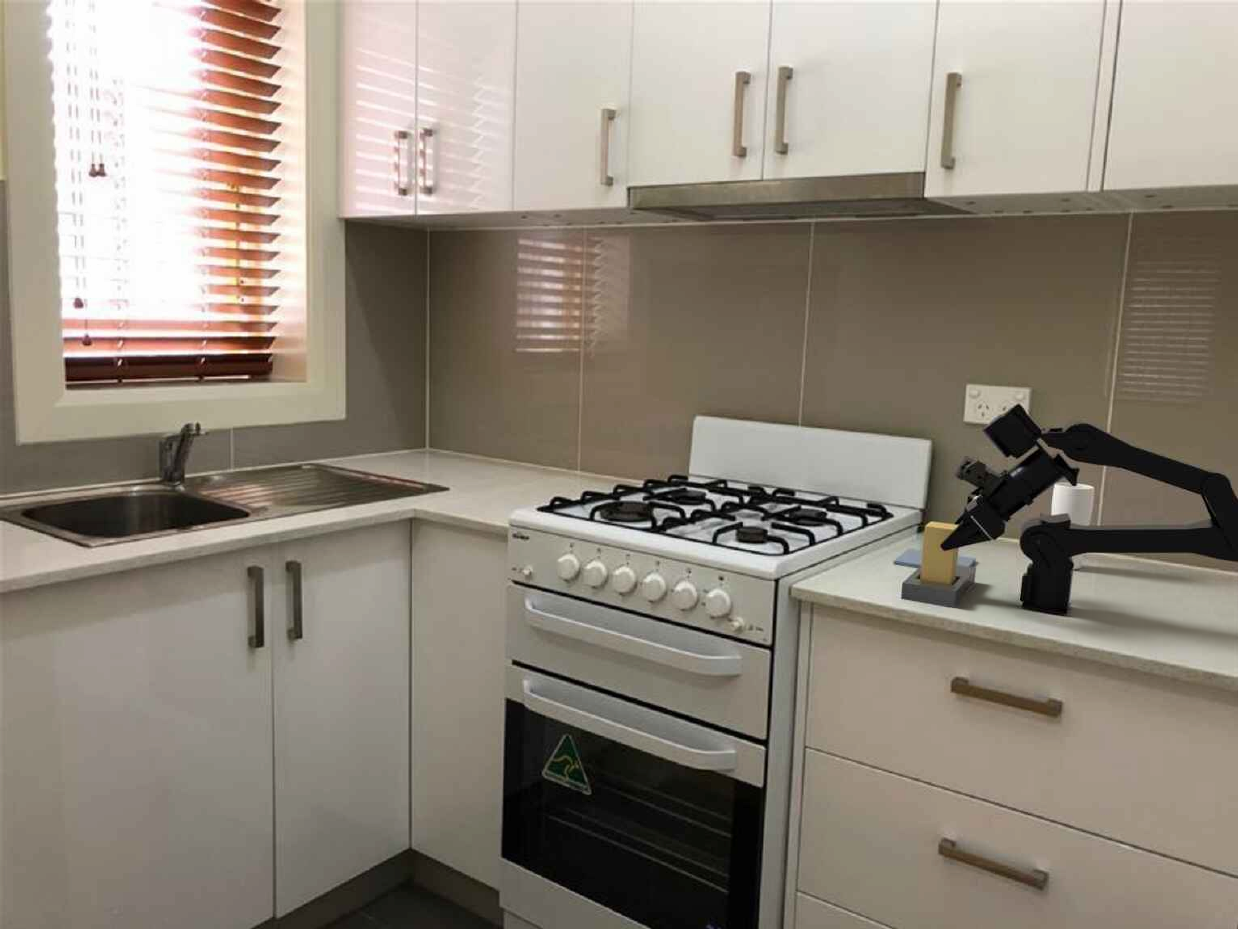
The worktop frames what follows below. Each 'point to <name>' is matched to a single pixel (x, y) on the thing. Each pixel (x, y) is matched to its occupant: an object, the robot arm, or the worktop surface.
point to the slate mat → (915, 559)
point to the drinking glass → (1074, 506)
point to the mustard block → (938, 554)
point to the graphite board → (938, 588)
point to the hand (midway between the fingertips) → (944, 542)
